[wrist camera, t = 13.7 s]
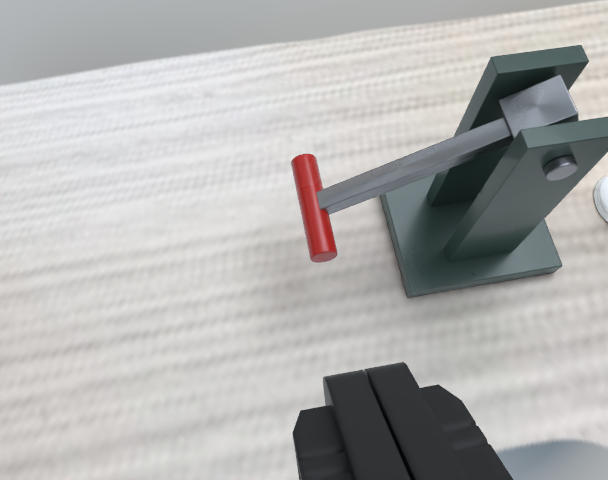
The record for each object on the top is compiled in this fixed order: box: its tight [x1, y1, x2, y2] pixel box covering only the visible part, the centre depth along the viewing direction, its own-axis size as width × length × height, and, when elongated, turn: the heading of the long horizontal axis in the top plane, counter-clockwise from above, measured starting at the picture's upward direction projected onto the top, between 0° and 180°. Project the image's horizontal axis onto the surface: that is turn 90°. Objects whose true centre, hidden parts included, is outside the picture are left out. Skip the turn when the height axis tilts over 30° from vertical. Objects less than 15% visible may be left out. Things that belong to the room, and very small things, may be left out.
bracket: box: [380, 45, 608, 297], centre depth 31 cm, size 10×8×14 cm
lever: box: [291, 75, 579, 262], centre depth 28 cm, size 14×6×2 cm, turn 101°
